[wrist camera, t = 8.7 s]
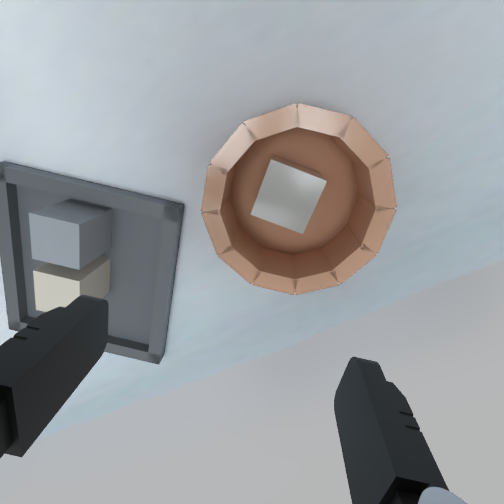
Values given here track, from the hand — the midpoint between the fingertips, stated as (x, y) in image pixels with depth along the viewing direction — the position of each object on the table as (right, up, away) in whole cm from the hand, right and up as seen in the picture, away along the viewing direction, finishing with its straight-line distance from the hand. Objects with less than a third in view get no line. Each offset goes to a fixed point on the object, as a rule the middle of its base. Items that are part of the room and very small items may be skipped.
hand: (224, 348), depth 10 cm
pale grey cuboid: (+3, +8, +13) cm, 16 cm away
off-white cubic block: (-14, +1, +18) cm, 23 cm away
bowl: (+4, +8, +14) cm, 16 cm away
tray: (-14, +2, +18) cm, 23 cm away
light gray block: (-13, +6, +16) cm, 21 cm away
